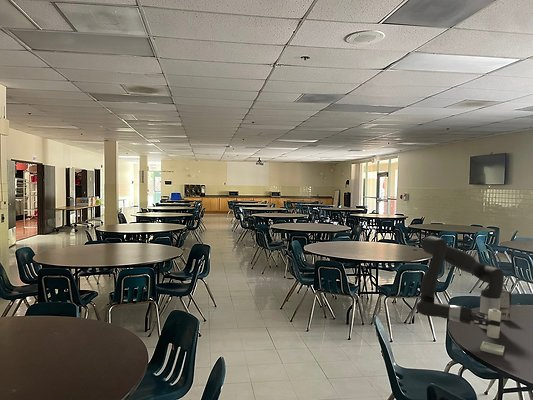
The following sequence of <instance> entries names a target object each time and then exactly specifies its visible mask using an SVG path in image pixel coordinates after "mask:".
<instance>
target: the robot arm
mask: <svg viewBox="0 0 533 400" xmlns="http://www.w3.org/2000/svg"><path fill="white" fill-rule="evenodd" d="M421 248H422V250H423V251H424V253H426V254H429V255H431V256H432V258H431V263H430V265H429V267H428V269H426V271H425V272H424V274H423V276H422V278H421V284H420V293H421V294H420V299H419V302H417V304H416V306H415V307H416V308H415V309H416V311H417V312H418V313H419V314H420V315H422V316H427V317H434V318H442V319H444V320H451V321H453V322H456V323H457V322H458V323H461V324H466V325H471V323H472V322H473V324H474V325H478V326H479V328H481V329H484V330H486V331H487V326H488V325H493V326H498V327H500V328H501V324H502V320H501V319H500V322H499V321H494V320H490V319H488V312H489V309H493V308H494V309H497V310H499V311H500V296H501V293H502V290H503V289H504V280H505V275H504V271H503V270H502V269H501V268H499V267H494V266H491V265H487V264H483V263H480V262H478V261H477V260H476V259H475V257H474V256H473V255H471V254H469V253H467V252H465V251H464V250H460V249H458V248H455V247H452V246H449V245H448V242H447V241H446V239H444V238H440V237H437V236H433V235H431V236H430V235H429V236H426V237H424V238H423V239H422V240H421ZM444 262H447V263H448V264H450V265H451V266H453V267H455V268H457V269H459V270H461V271H462V272H465V273H468V274H471V275H473V276H474V277H475V278H477V279H479V280H480V281H481V282H484V283H485V284H488V288H483V289H481V291H480V303H479V306H480V307H479V311H478V312H473V309H472V308H470V307H465V306H460V305H454V304H447V303H443V302H442V303H435V295H436V294H435V293H436V289H437V284H438V278H439V275H440V272H441V269H442V266H443V263H444Z"/></svg>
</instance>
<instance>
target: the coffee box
mask: <svg viewBox="0 0 533 400" xmlns="http://www.w3.org/2000/svg"><path fill="white" fill-rule="evenodd" d="M512 295H513V294H512V292H510V291H509V290H507V289H506V288H505V289H504V288H503V290H502V293H501V296H500V311H501V321H510V320H511V319H510V318H511V308H512V307H511V305H512Z"/></svg>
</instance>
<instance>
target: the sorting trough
mask: <svg viewBox="0 0 533 400" xmlns="http://www.w3.org/2000/svg"><path fill="white" fill-rule="evenodd" d="M505 347H506V346H505V345H502V344H501V345H500V344H496V343H492V342H487V341H482V343H481V345H480V349H479V350H480V352H485V353H489V354H494V355H497V356H504V353H505Z"/></svg>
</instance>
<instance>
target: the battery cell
mask: <svg viewBox="0 0 533 400" xmlns="http://www.w3.org/2000/svg"><path fill="white" fill-rule="evenodd" d="M488 319H490V320H494V321H499V322H500V319H501V311H499V310H497V309H494V308H493V309H489V312H488ZM500 329H501V326H500V327H498V326H493V325H488V326H487V330H486V336H487V337H489V338H492V339H499V338H500Z"/></svg>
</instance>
